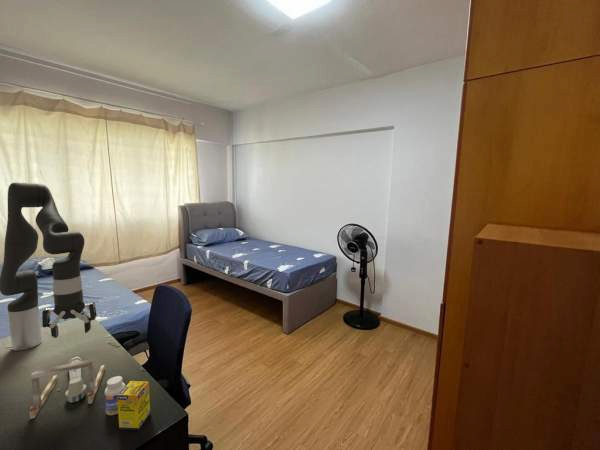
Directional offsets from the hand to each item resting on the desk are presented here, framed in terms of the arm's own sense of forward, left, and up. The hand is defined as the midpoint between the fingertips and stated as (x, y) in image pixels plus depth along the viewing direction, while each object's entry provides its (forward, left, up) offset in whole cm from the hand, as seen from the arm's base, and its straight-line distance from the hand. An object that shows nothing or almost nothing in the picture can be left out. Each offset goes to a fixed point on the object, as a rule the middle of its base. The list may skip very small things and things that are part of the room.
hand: (71, 334), depth 94 cm
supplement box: (+28, +21, -18) cm, 40 cm away
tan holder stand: (+5, 0, -18) cm, 19 cm away
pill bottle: (+20, +15, -18) cm, 31 cm away
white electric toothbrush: (0, 0, -19) cm, 19 cm away
